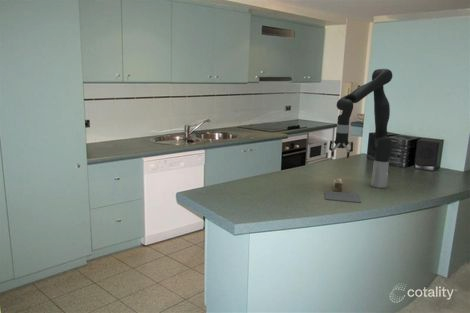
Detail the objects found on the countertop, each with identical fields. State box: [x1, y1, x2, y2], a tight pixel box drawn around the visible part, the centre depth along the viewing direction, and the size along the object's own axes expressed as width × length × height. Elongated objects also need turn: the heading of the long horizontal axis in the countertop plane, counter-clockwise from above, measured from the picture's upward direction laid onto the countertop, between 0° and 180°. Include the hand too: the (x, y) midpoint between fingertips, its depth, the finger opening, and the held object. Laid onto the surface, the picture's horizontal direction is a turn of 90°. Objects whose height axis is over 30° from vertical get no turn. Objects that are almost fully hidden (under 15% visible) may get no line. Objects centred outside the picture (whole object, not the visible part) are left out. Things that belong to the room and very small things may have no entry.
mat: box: [324, 191, 362, 204], centre depth 238 cm, size 20×15×1 cm
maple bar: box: [332, 178, 343, 193], centre depth 255 cm, size 4×12×5 cm, turn 169°
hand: (340, 157), depth 251 cm, fingers open, 8 cm apart
